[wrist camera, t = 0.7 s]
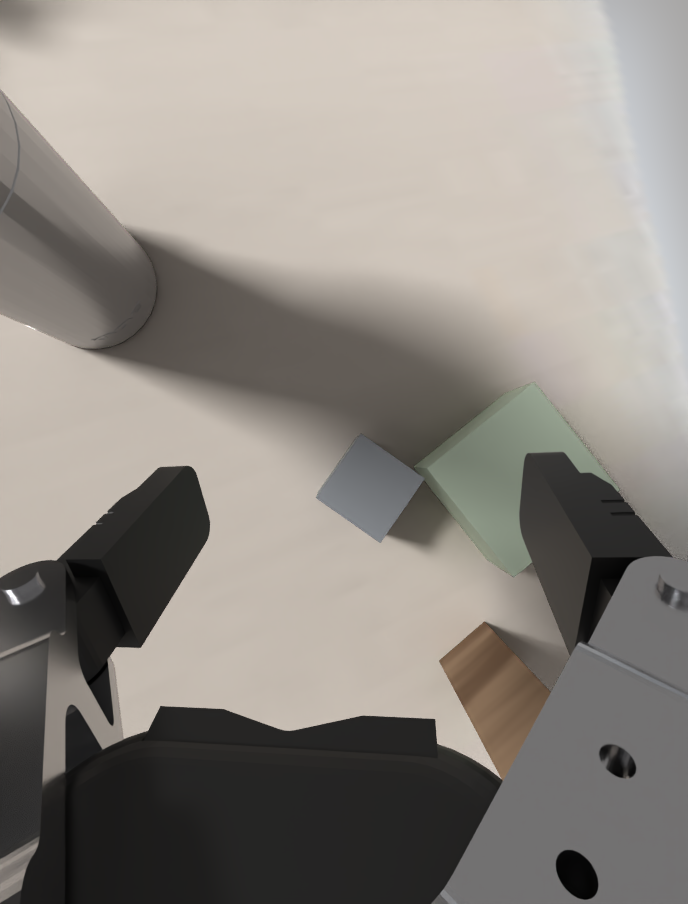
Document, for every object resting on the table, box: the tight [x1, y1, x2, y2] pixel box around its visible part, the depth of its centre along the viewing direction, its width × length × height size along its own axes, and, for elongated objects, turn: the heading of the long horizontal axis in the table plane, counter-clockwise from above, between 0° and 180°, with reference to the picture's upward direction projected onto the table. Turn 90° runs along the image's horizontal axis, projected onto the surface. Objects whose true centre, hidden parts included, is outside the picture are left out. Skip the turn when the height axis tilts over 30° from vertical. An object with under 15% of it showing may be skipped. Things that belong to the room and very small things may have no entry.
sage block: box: [414, 382, 620, 577], centre depth 31 cm, size 9×9×5 cm
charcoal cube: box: [316, 434, 425, 543], centre depth 30 cm, size 5×5×5 cm
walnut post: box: [439, 622, 551, 780], centre depth 26 cm, size 4×4×12 cm
